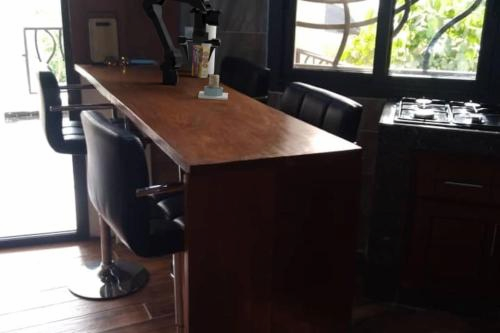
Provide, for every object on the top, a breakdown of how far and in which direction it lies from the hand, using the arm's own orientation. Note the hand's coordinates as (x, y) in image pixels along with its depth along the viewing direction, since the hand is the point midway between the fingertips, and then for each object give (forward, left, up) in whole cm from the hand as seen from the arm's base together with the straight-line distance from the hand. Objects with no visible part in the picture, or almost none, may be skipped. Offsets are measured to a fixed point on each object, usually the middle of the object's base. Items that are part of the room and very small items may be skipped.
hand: (198, 61), depth 245 cm
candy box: (-1, +34, -12) cm, 36 cm away
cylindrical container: (+2, +48, -12) cm, 50 cm away
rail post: (+8, -18, -11) cm, 23 cm away
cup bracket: (+8, -18, -12) cm, 23 cm away
